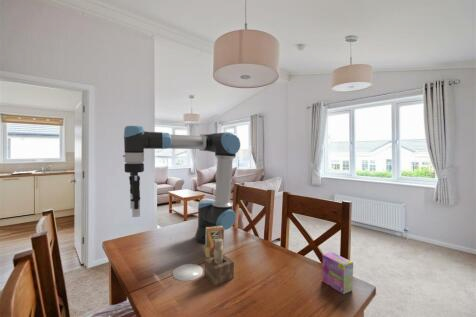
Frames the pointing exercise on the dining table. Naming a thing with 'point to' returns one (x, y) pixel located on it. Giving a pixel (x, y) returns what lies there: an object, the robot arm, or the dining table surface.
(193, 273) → the white plate
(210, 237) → the candy box
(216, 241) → the dowel
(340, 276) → the box
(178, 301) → the dining table surface
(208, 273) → the pen pot
